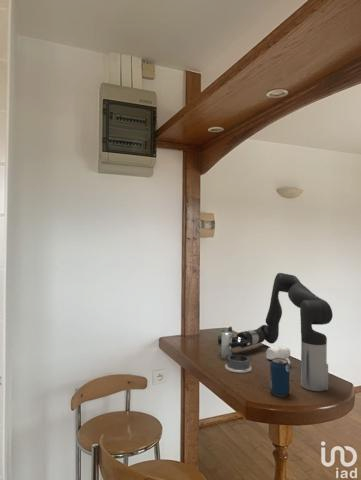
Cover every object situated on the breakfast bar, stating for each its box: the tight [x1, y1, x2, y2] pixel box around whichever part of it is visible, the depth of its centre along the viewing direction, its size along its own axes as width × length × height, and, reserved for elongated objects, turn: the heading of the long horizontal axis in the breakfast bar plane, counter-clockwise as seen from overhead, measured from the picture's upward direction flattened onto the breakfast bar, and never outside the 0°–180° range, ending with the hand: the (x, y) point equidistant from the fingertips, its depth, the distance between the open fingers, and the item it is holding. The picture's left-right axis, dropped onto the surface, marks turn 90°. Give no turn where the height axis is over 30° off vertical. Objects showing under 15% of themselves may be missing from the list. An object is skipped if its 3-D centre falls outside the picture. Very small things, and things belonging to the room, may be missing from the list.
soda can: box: [269, 358, 291, 397], centre depth 129 cm, size 7×7×12 cm
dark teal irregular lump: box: [217, 326, 236, 346], centre depth 192 cm, size 9×9×9 cm
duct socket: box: [224, 354, 253, 374], centre depth 155 cm, size 12×12×4 cm
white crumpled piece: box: [265, 345, 291, 365], centre depth 163 cm, size 9×8×15 cm
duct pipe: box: [220, 331, 233, 361], centre depth 169 cm, size 5×5×12 cm
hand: (225, 343), depth 169 cm, fingers open, 8 cm apart
